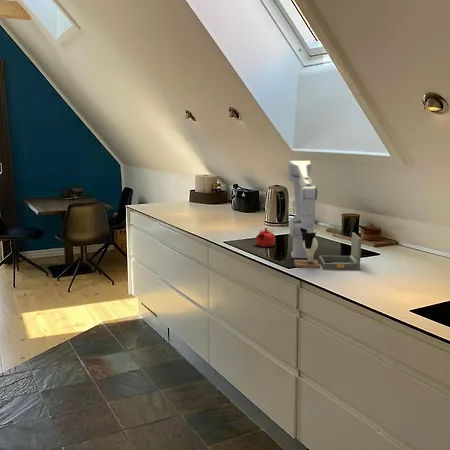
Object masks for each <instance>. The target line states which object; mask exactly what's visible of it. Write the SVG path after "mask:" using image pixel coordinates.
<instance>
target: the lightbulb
mask: <svg viewBox="0 0 450 450" xmlns="http://www.w3.org/2000/svg"><path fill="white" fill-rule="evenodd" d="M318 247H319V242H318V240H317V238H315V237H314V239H313V242H312V246H311V249H306V248H305V241H303V248H304V249H305V251H306V253H307V258H306V260H307V261H308V262H310V263H311V262H313V261H314V260H315V254H316V251H317V249H318Z"/></svg>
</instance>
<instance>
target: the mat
mask: <svg viewBox="0 0 450 450" xmlns="http://www.w3.org/2000/svg"><path fill="white" fill-rule="evenodd" d="M293 263H294V266H295V268H296V269H297V268H299V269H300V268H302V269H303V268H304V269H320V268H321V265H320V263H319V260H317V259H314V261H313V262H311V263H310V262H308V261H307V259H293Z"/></svg>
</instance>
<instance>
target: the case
mask: <svg viewBox="0 0 450 450" xmlns="http://www.w3.org/2000/svg"><path fill="white" fill-rule="evenodd" d="M350 245H351V247H350V248H351V250H350V255H318V263H319V265H320V267H321V268H322V270H332V271H333V270H335V271H337V270H341V271H346V270H347V271H360V270H361V255H362V238H361V237H360V236H359V235H358V234H356V232H351V244H350Z"/></svg>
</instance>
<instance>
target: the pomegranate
mask: <svg viewBox="0 0 450 450" xmlns="http://www.w3.org/2000/svg"><path fill="white" fill-rule="evenodd" d="M258 231H259V233H258V234H257V235H256V236H255V243H256V245H257V246H259V247H262V248H271V247H273V246H274V245H275V242H276V237H275V236H276V235H275V234H274V230H270V229H268V227H265V228H264V229H263V230H262V229H259V230H258Z"/></svg>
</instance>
